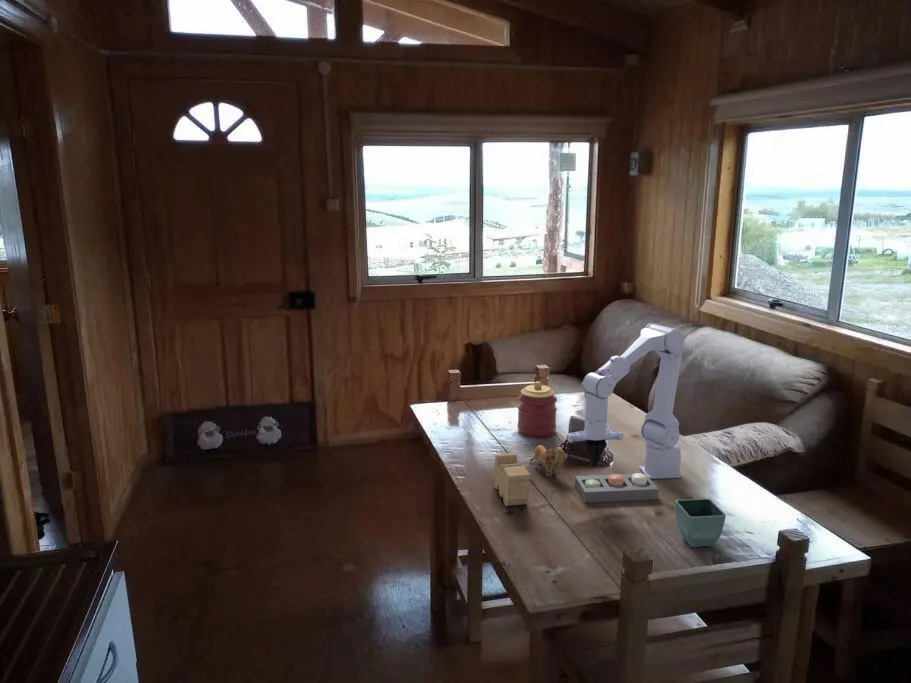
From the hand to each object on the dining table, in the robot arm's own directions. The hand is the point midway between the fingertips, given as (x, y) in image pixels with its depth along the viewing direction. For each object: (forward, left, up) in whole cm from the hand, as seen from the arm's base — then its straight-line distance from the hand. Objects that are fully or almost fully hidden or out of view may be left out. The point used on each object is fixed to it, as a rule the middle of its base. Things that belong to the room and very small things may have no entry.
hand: (593, 465), depth 185 cm
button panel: (-6, 0, -8) cm, 11 cm away
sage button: (0, 0, -8) cm, 8 cm away
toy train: (+22, 0, -9) cm, 24 cm away
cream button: (-13, 0, -7) cm, 15 cm away
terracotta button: (-6, 0, -7) cm, 9 cm away
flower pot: (-17, +27, -8) cm, 33 cm away
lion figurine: (+9, -16, -8) cm, 20 cm away
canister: (+6, -47, -8) cm, 48 cm away
